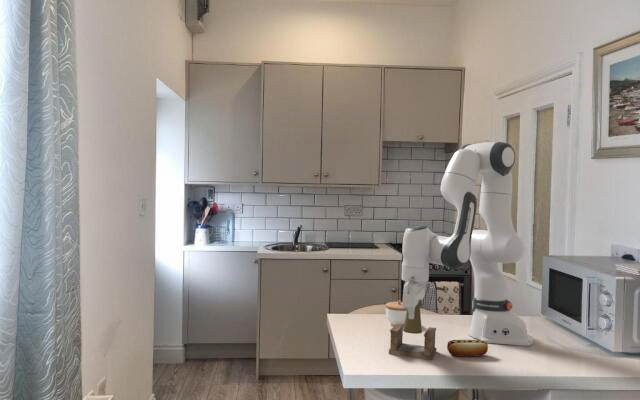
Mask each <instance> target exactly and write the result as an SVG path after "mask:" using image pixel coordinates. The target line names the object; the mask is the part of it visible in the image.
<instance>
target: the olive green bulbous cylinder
mask: <svg viewBox="0 0 640 400" xmlns="http://www.w3.org/2000/svg"><path fill="white" fill-rule="evenodd" d="M422 306H423V303H422V300H421V299H419V303H418V304H417V306H416V307H415V318H414V319H409V313H408V309H407V313H406V318H405V324H404V326H403V332H404V333H407V334H413V335H414V334H416V335H417V334H422V332H423V330H422V318H421V308H422Z"/></svg>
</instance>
